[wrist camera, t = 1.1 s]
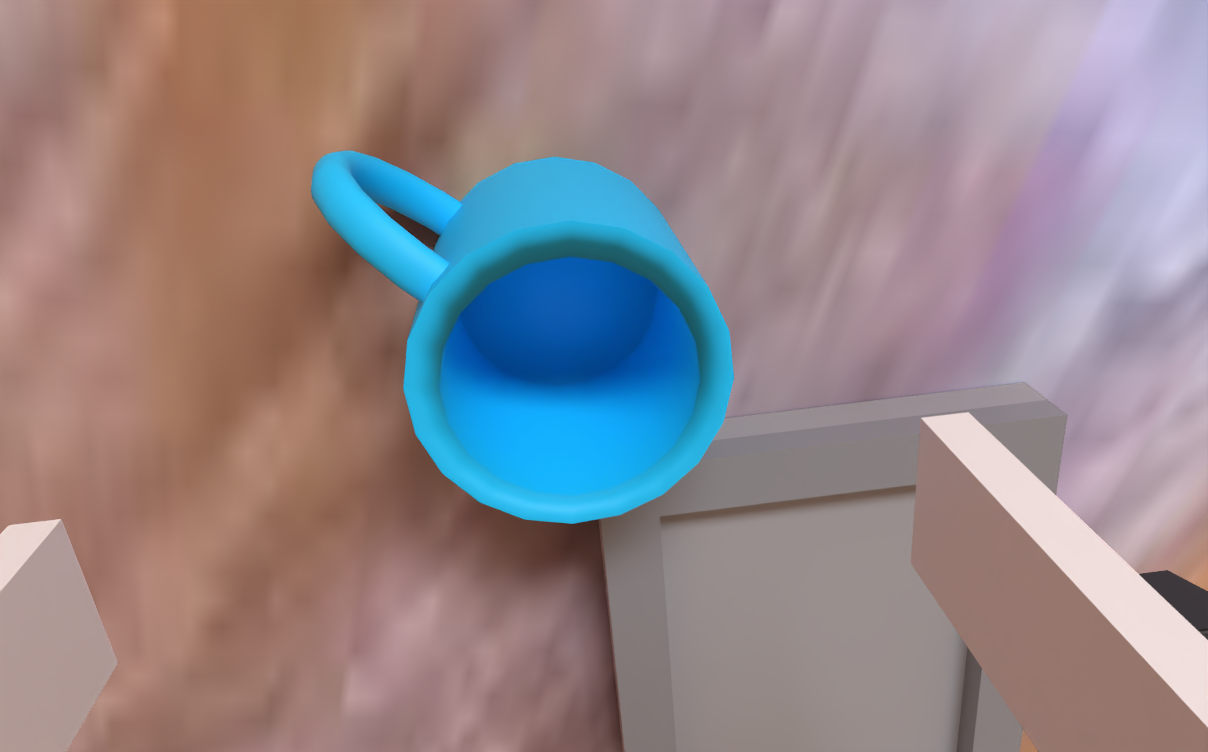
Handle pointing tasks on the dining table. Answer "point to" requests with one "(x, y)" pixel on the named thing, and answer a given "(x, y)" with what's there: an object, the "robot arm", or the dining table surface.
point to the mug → (544, 331)
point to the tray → (805, 588)
